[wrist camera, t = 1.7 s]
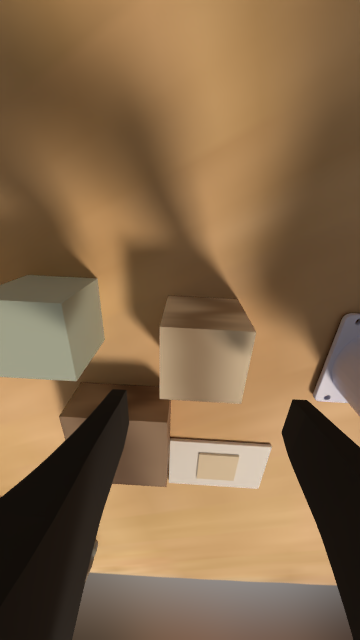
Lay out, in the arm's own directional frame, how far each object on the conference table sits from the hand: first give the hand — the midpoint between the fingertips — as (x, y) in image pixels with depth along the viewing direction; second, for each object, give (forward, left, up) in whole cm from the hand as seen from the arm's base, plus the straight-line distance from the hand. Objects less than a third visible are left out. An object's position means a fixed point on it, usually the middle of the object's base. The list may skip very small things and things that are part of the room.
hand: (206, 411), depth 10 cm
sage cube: (+10, -1, -8) cm, 13 cm away
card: (-3, +16, -8) cm, 18 cm away
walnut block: (+6, +10, -8) cm, 14 cm away
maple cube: (0, 0, -8) cm, 8 cm away
